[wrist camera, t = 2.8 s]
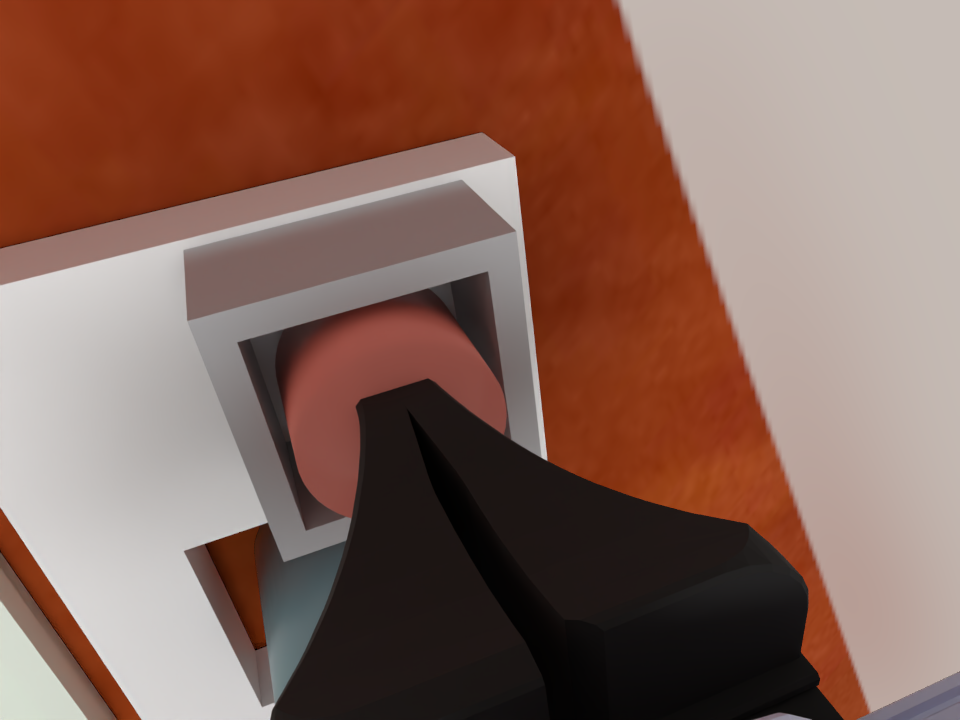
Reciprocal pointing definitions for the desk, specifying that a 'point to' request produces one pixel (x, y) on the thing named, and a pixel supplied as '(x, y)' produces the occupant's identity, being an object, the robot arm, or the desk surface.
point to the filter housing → (224, 391)
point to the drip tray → (39, 663)
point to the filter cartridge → (291, 600)
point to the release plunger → (371, 381)
